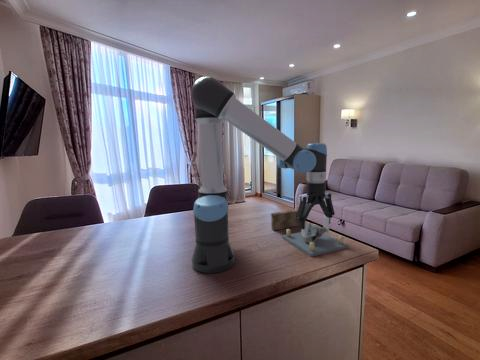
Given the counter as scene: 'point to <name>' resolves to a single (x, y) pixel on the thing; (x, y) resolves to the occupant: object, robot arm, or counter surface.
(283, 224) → the panel
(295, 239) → the base
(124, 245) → the counter surface
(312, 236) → the mineral specimen
